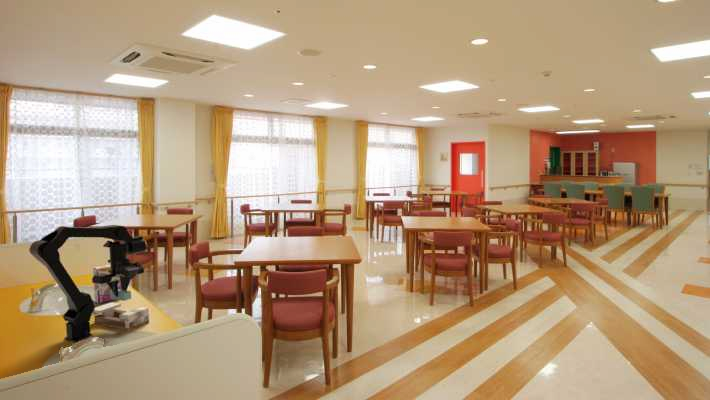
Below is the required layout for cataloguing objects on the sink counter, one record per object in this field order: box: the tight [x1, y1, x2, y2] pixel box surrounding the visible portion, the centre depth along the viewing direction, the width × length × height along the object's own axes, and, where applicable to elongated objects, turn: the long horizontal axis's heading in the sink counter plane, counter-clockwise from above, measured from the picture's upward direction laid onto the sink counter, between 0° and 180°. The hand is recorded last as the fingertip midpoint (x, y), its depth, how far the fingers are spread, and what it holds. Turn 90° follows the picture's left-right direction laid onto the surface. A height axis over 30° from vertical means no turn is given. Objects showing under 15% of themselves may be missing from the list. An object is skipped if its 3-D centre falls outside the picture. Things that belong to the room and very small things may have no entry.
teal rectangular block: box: [110, 289, 132, 302], centre depth 167 cm, size 8×3×3 cm, turn 67°
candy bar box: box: [92, 264, 122, 305], centre depth 197 cm, size 11×5×16 cm, turn 141°
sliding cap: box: [91, 301, 122, 317], centre depth 171 cm, size 9×6×4 cm, turn 156°
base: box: [93, 306, 150, 331], centre depth 168 cm, size 9×20×6 cm, turn 66°
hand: (120, 295), depth 167 cm, fingers closed on teal rectangular block, 3 cm apart
